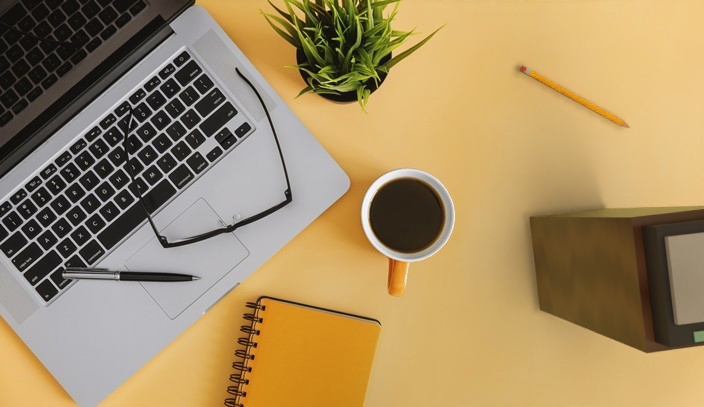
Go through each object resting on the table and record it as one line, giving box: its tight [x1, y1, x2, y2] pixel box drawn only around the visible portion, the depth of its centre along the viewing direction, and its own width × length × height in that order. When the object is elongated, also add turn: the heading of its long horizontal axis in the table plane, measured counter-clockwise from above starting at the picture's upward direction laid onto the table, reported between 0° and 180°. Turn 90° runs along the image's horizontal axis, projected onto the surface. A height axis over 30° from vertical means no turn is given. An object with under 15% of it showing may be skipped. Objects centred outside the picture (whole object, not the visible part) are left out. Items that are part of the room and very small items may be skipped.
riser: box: [529, 205, 704, 354], centre depth 70 cm, size 14×12×26 cm
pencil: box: [519, 65, 631, 129], centre depth 83 cm, size 1×19×1 cm, turn 63°
